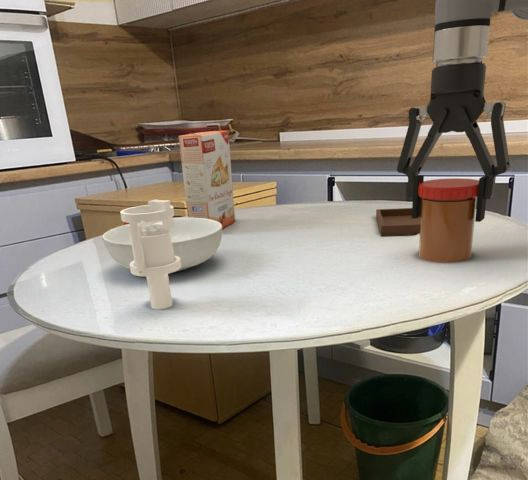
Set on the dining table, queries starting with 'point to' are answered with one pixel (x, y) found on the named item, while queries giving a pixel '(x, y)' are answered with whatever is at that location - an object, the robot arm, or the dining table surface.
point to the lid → (448, 189)
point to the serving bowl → (182, 237)
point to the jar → (446, 229)
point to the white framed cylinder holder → (153, 248)
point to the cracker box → (208, 176)
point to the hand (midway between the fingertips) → (447, 218)
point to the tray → (397, 222)
